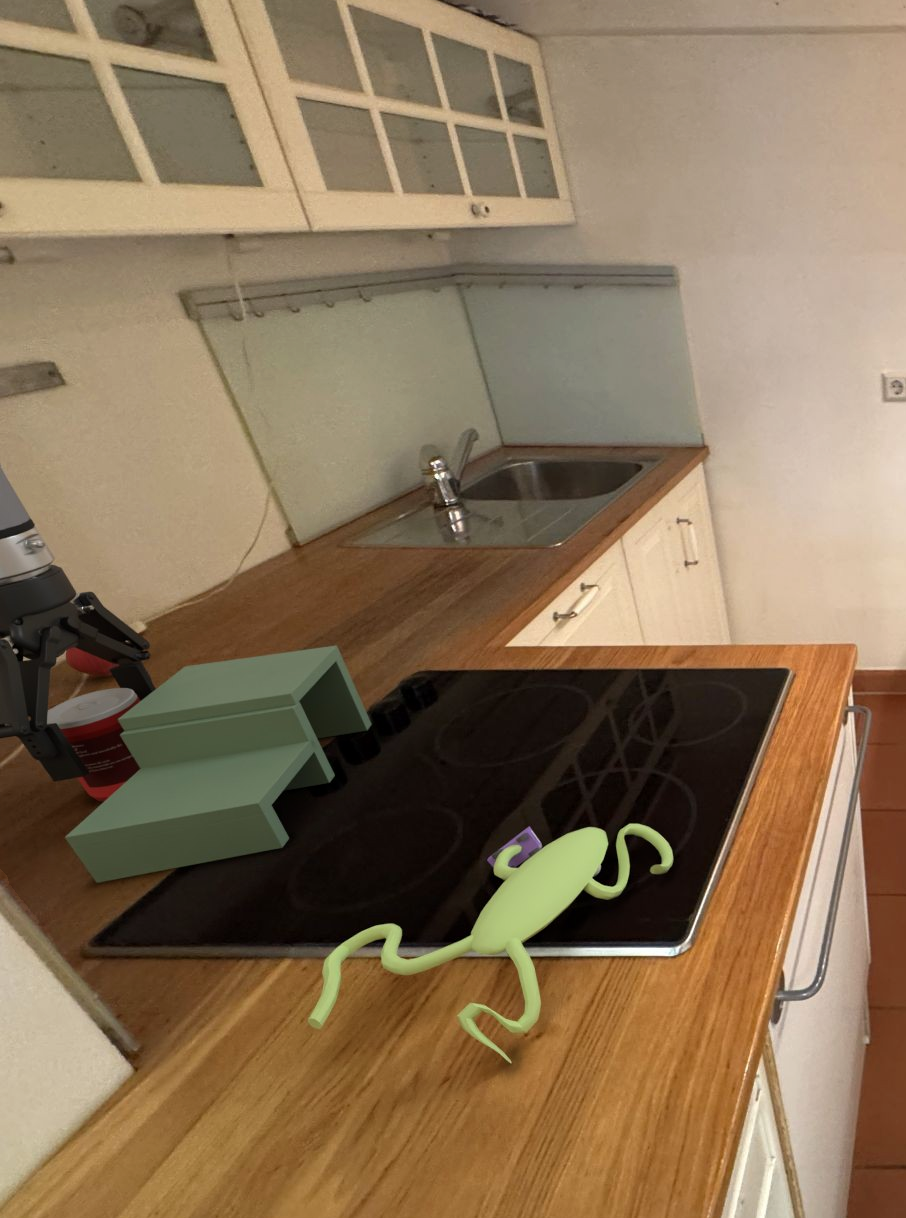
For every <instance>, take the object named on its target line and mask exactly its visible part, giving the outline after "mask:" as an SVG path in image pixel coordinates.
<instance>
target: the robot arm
mask: <svg viewBox="0 0 906 1218" xmlns="http://www.w3.org/2000/svg"><path fill="white" fill-rule="evenodd" d="M55 559H56V557H55V555H54V554H53V553H52V550H50V547H49V546H48V544H47V543H46V542H45V540H44V538H43V537H42V535H41V534H40V532H39V530H38V528H37V527H36V525H35V523H34V521H33V519H32V518H31V516H30V514H29V512H28V511H27V509H26V508H25V506H24V504H23V502H22V501H21V499H20V497H19V496H18V493H17V492H16V491H15V489H14V487H13V485H12V484H11V482H10V481H9V479H8V477H7V475H6V473H5V472H4V470H3V468H2V464H0V739H6V738H12V737H17V738H18V740H20V742H21V743H22V744H23V746H24V747H25V748H26V750H27V752H28V753H29V754H30V756H31V757H32V758H33V759H34V760H36V761H38V762H39V763H40V764H41V766H42V767H43V769H45V771H46V773H47V774H48V775H49V777H50V778H51V779H52V781H53V782H54V783H55V782H60V781H66V780H72V779H78V777H84V776H86V775H87V774H88V773H89V771H88V769H87V768H86V766H85V765H84V763H83V762H82V760H81V759H80V757H79V756H78V754H77V753H76V752H75V750H74V749H73V747H72V746H71V744H70V743H69V741H68V740H67V738H66V737H65V735H64V734H63V732H62V731H61V729H60V728H59V726H58V725H57V723H52V724H47V714H48V711H49V699H50V698H49V697H50V681H51V679H50V678H51V669H52V668H53V667H55V666H56V665H57V661H58V660H57V659H58V658H59V657H61V656H63V655H64V654H65V653H66V650H67V649H70V648H74V647H75V648H77V649H80V650H82V651H84V652H87V653H89V654H92V655H94V656H96V657H99V658H101V659H103V660H106V661H108V662H110V663H113V664H119V666H115V667H112V668H111V669H109V670H110V672H111V673H112V675H111V676H112V677H113V679H114V680H115V681H116V683H117V685H118V687H119V688H128V689H132V690H133V691H134V692H135V694H137V696H138V698H139V699H140V701H142V700H143V699H144V698H145V697H147V696H148V695H149V694H150V693H152V692H153V691H154V690H156V689H157V688H156V686H155V685H154V683H153V681H152V677H151V675H150V674H149V672H148V670H147V668H146V667H145V665H144V663H143V662H142V661H148V660H150V659H151V653H150V651H149V649H150V647H151V646H150V642H149V641H148V640H147V639H146V638H145V637H143V636H142V635H141V634H139V633H138V632H137V631H136V630H134V629H133V628H132V627H131V626H129V625H128V624H127V623H125V622H124V621H123V620H122V619H120V618H119V617H118V616H116V615H115V614H114V613H113V612H112V611H110V610H109V609H108V608H107V607H105V606H104V605H103V604H102V602H101V601H100V599H99V598H98V596H97V594H96V593H94V592H93V591H83V592H77V590H76V589H75V587H74V586H73V584H72V582H71V581H70V579H69V578H68V576H67V575H66V573H65V571H64V569H63V568H62V566H58V565H56V564H53V562H54V561H55ZM24 658H26V659H27V660H24ZM29 719H30V720H29Z"/></svg>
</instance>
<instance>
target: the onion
mask: <svg viewBox="0 0 906 1218" xmlns="http://www.w3.org/2000/svg"><path fill="white" fill-rule="evenodd" d="M65 660H66V663H67V664H68V665H69V667H70V668H72V669H73V670H75V671H77V672H79V673H82V674H86V675H92V676H97V677H101V678H109V677H110V676H113V675H112V673H111V672H110V670H109V669H111V668H112V667H115V666H119V664H113V663H110V662H108V661H106V660H103V659H101V658H99V657H96V656H94V655H92V654H89V653H87V652H84V651H82V650H80V649H77V648H75V647H74V648H70V649H67V650H66V651H65Z"/></svg>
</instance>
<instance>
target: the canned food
mask: <svg viewBox="0 0 906 1218" xmlns="http://www.w3.org/2000/svg"><path fill="white" fill-rule="evenodd" d="M139 702H140V699H139V698H138V696H137V694H135V692H134V691H133V690H132V689H128V688H120V687H114V688H105V689H101V690H96V691H92V692H88V693H86V694H81V695H79V696H76V697H73V698H71V699H68V700H65V701H63V702H61V703H59V704H57V705H55V706H54V707H52V708H49V709H48V714H47V724H52V723H57V725H58V726H59V728H60V729H61V731H62V732H63V734H64V735H65V737H66V738H67V740H68V741H69V743H70V744H71V746H72V747H73V749H74V750H75V752H76V753H77V754H78V756H79V757H80V759H81V760H82V762H83V763H84V765H85V766H86V768H87V769H88V771H89V773H88V774H87V775H86V776H84V777H78V778H77V780H78V781H79V783H80V784H81V785H82V787H83V788H84V790H85V791H86V793H87V795H89V796H90V797H91V798H93V799H94V800H96V801H98V802H102V803H103V802H104V801H105V800H107V799H108V798H109V797H110V796H111V795H112V794H113V793H114V792H115V791H117V790H118V789H119V788H120V787H121V786H122V785H123V784H124V783H125V782H127V781H128V780H129V779H130V778H131V777H132V776H133V775H134V774H135V773H136V772H138V771H139V770H140V769H141V768H140V767H139V765H138V764H137V762H136V760H135V759H134V757H133V756H132V754H131V752H130V751H129V749H128V747H127V746H126V744H125V743H124V741H123V739H122V738H121V736H120V734H121V733H123V732H124V731H125V730H124V729H123V728H122V726H121V724H120V723H119V721H118V719H119V718H120V717H121V716H122V715H124V714H125V713H126V712H128V711H129V710H130V709H131V708H133V707H134V706H135V705H136V704H138V703H139Z"/></svg>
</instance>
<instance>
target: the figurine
mask: <svg viewBox="0 0 906 1218" xmlns="http://www.w3.org/2000/svg"><path fill="white" fill-rule="evenodd" d="M632 835H633V836H637V837H640V838H642V839H644V840H646V841H647V842H649V843H650V844H652V846H654V847H655V849H656V850H657V851H658V854H659V856H660V858H661V864H654V865H652V866H650V869H649V872H650V873H651V874H653V875H663V874H666V873H668V871H669V870H670V868H671V867H673V863H674V854H673V849H672V847H671V846H670V843H669V842H668V841H667V840H666V839H665V838H664V837H663V836H662V835H661V833H659V832H658V831H656V830H655V829H653V828H652V827H650V826H647V825H644V824H641V823H628V824H627V825H625V826H624V827H623V828H621V829H620V830H619V831H618V833H617V836H616V837H617V838H616V842H615V847H616V849H615V850H616V854H617V859H618V876H617V882H616V884H615V885H614V886H610V885H609V886H608V885H604V884H601V883H600V882H598V881H596V880H595V879H594V878H593V877H596V876H597V875H598V874H599V873H600V872H601V869H602V865H601V864H602V863H603V861H604V858H605V855H606V852H607V850H608V846H609V841H608V840H609V839H608V835H607V832H606V831H605V830H603V829H602V828H598V827H595V826H588V827H584V828H580V829H577V830H574V831H570V832H568V833H566V834H565V835H562V836H561V837H559V838H557V839H555V840H554V841H552V842H550V843H548V844H546V845H545V846H544V847H543V845H542V842H541V841H540V839H539V837H538V836H537V835H536V833H535V832H534V830H533V829H532V827H531V826H528V827H526V828H525V829H524V830H523V831H521V832H520V833H519V834H517V835H516V836H515V837H513V838H512V839H511V840H509V841H508V842H507V843H506V844H505V845H503V846H501V848H499V849H497V851H495V852H493V853H492V854H491V855H490V856H489V857H488V858H487V862H488V863H489V864H490V865H491V867H492V868H493V874H494V876H496V877H498V878H500V879H502V880H503V883H502V884H501V885H500V886H499V887H498V889H497V890H496V891H495V893H494V894H493V895H492V896H491V898H490V899H489V900H488V901H487V903H486V904H485V906H484V907H483V909H482V910H481V911H480V913H479V916H478V918H477V919H476V921H475V923H474V925H473V928H472V930H471V932H470V935H469V936H466V937H464V938H463V939H461V940H458V941H456V942H453V943H451V944H449V945H446V946H444V947H442V948H439V949H437V950H434V951H432V952H429V953H426V954H424V955H422V956H418V957H414V958H409V959H406V958H403V957H400V956H399V955H398V949H399V946H400V943H401V941H402V936H403V929H402V928H401V926H399V925H397V924H395V923H384V924H378V925H374V926H371V927H369V928H367V929H364V930H362V931H360V932H358V933H356V934H355V935H353V936H352V937H350V938H349V939H346V940H345V941H344V942H342V943H341V944H340V945H338V946H337V947H336V948H335V949H333V950H332V951H331V953H330V954H329V955H328V956H327V957H326V958H325V959H324V961H323V966H322V971H321V974H322V978H323V986H322V989H321V994H320V997H319V999H318V1001H317V1003H316V1005H315V1007H314V1009H313V1010H312V1012H311V1014H310V1015H309V1017H308V1019H307V1022H308V1024H309V1026H310V1027H312V1028H314V1029H315V1030H321V1029H322V1028H323V1026H324V1025H325V1023H326V1021H327V1019H328V1017H329V1016H330V1014H331V1012H332V1010H333V1008H334V1005H335V1004H336V1002H337V1000H338V995H339V992H340V987H341V983H342V972H341V970H342V969H341V968H342V964H343V962H344V961H345V960H346V959H347V958H348V957H349V956H350V955H352V954H353V953H355V952H356V951H358V950H359V949H361V948H362V947H364V946H366V945H368V944H369V943H373V942H374V941H378V940H383V939H385V942H384V944H383V945H382V949H381V951H380V959H381V965H382V968H383V969H385V970H386V971H389V972H390V973H392V974H395V975H399V976H411V975H415V974H419V973H423V972H425V971H428V970H430V969H433V968H435V967H438V966H440V965H443V964H445V963H448V962H450V961H452V960H455V959H457V958H460V957H462V956H464V955H467V954H469V953H470V952H472V951H473V952H476V953H477V954H479V955H485V956H486V955H487V956H494V955H499V954H501V953H503V952H506V953H507V955H508V957H509V958H510V959H511V960H512V962H513V964H514V965H515V968H516V970H517V973H518V977H519V982H520V986H521V991H522V994H523V999H524V1012H523V1014H522V1015H521V1017H520V1018H519V1019H518V1020H517V1021H515V1020H512V1019H507V1018H505V1017H504V1016H503V1015H501V1014H499V1013H498V1012H496V1011H494V1010H493V1009H492V1008H490V1007H488V1006H487V1005H485V1004H481V1003H476V1002H475V1003H474V1002H469V1003H468V1004H467V1005H466V1006H465V1007H464V1008H462V1009H461V1011H460V1012H459V1013H458V1014H457V1015H456V1017H457V1020H458V1022H459V1025H460V1027H461V1028H462V1029H463V1030H464V1031H465V1033H467V1034H468V1035H470V1036H471V1037H472V1038H474V1039H475V1040H477V1041H479V1042H480V1043H482V1045H484V1046H486V1047H488V1048H490V1049H492V1050H493V1051H495V1052H496V1053H498V1054H500V1055H501V1057H503V1058H504V1059H505V1060H506V1061H507V1062H508V1063H510V1064H512V1063H513V1062H512V1061H511V1058H509V1057H508V1056H507V1054H506V1053H505V1052H504V1051H503V1050H502V1049H501V1048H500V1047H499V1046H497V1045H496V1044H495V1043H494V1042H493V1041H492V1040H490V1039H489V1037H487V1036H486V1035H485V1034H484V1033H483V1032H482V1031H481V1030H480V1029H479V1028H478V1026H477V1024H476V1022H475V1018H477V1017H478V1016H479V1015H480V1014H481V1013H483V1012H484V1013H486V1014H489V1015H491V1016H493V1017H494V1018H495V1020H496V1021H498V1022H499V1023H500V1025H502V1026H503V1027H504V1028H505V1029H506V1030H508V1031H509V1032H510V1033H511V1034H528V1032H529V1031H530V1030H531V1029H532V1027H533V1026H534V1025H535V1024H536V1023H537V1022H538V1021H539V1018H540V1013H541V1008H542V1007H541V1006H542V1001H541V994H540V987H539V982H538V978H537V973H536V969H535V967H536V966H535V964H534V962H533V960H532V958H531V956H530V954H529V953H528V951H527V950H526V948H525V946H524V945H523V943H525V942H526V941H527V940H529V939H530V938H532V937H534V936H535V935H537V934H538V933H539V932H541V931H543V930H544V929H545V928H546V927H548V926H549V925H550V924H551V923H552V922H553V921H554V920H555V919H556V918H558V917H559V916H560V915H561V914H563V912H564V911H566V910H567V909H568V908H569V907H570V905H571V904H572V903H573V902H574V901H575V900H576V898H577V897H579V895H580V894H581V893H582V891H583V890H584V892H585V893H587V894H589V895H591V896H592V897H594V898H597V899H602V900H607V901H609V900H612V899H615V898H617V897H620V895H621V894H622V893H623V891H624V890H625V889H626V886H627V883H628V880H629V876H630V868H631V863H630V855H629V851H628V847H627V844H626V840H625V836H632ZM519 865H520V866H519ZM517 866H518V867H517Z"/></svg>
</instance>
